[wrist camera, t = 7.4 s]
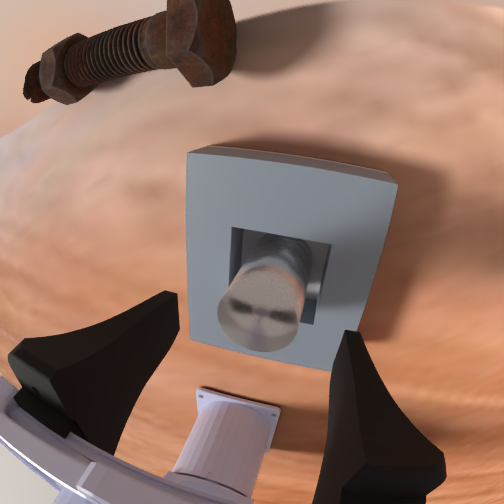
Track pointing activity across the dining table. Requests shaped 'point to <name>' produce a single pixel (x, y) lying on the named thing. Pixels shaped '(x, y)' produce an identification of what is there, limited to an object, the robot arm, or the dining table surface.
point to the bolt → (140, 51)
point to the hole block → (286, 224)
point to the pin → (267, 294)
